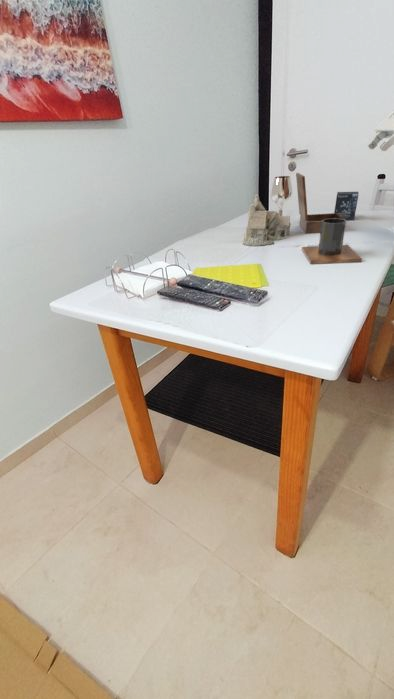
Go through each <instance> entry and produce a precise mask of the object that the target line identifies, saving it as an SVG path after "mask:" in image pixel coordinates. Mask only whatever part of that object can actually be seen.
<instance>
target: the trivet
mask: <svg viewBox="0 0 394 699" xmlns="http://www.w3.org/2000/svg"><path fill="white" fill-rule="evenodd" d="M318 248H319V245H316V246H315V245H314V246H301V252H302V253H303V254H304V256H305V257H306V259H307V261H308V262H309V264H310V265H323V264H325V265H326V264H345V263H347V264H348V263H349V264H350V263H362V262H363V258H362V257H361V256H360V255H359V254H358V253H357V252H355V250H353V248H352V247H350V246H349V244H343V246H342V251H341V254H338V255H322V254H320V253H318Z"/></svg>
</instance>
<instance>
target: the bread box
mask: <svg viewBox="0 0 394 699" xmlns="http://www.w3.org/2000/svg"><path fill="white" fill-rule="evenodd" d="M307 215H308V221H305V220H304V219H303V217H302V216H301V215H300V214H299V228H300V229H301V230H302V231H303V233H304V234H305V235H307V234H320V231H321V223H322V220H324V219H331V218H338V219H344V218H343V217H342V216H340V215H339V214H337V213H334V212H331V213H315V214H307ZM344 220H346V219H344ZM346 221H347V220H346Z"/></svg>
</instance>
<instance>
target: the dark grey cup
mask: <svg viewBox="0 0 394 699" xmlns="http://www.w3.org/2000/svg"><path fill="white" fill-rule="evenodd" d="M346 226H347V220H344V219H338V218H331V219H324V220H322V223H321V231H320V233H319V239H318V240H319V241H318V246H319V248H318V253H320V254H322V255H338V254H341V251H342V246H343V245H344V239H345V233H346Z"/></svg>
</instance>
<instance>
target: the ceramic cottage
mask: <svg viewBox="0 0 394 699" xmlns="http://www.w3.org/2000/svg"><path fill="white" fill-rule="evenodd" d="M247 216H248V217H247V226H246V227H245V228H246V229H245V232H244V233H243V240H242V244H243V245H245V246H249V247H250V246H251V247H256V246H257V247H260V246H268V245H272V244H273V245H274V244H275V241H280V240H286V239H289V238H290V230H291V225H292V224H291V216H290V215H283V209H282V208H281V209H278V212H277V211H276V210H266V208H265V206H264V205H263V204H262V202H261V201H260V196H259V194H255V195H254V203H251V204H250V205H249V210H248V214H247Z"/></svg>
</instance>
